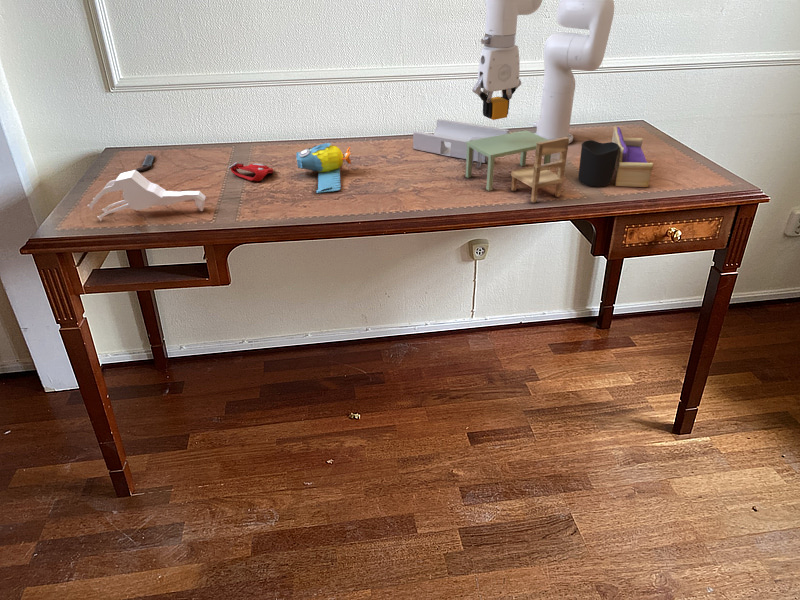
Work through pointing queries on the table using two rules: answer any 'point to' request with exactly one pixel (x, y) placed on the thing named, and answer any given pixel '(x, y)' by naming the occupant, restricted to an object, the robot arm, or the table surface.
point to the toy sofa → (631, 162)
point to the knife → (146, 163)
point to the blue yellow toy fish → (324, 165)
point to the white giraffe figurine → (144, 194)
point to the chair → (544, 168)
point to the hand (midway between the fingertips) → (495, 114)
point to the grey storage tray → (454, 139)
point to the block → (499, 108)
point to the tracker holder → (256, 168)
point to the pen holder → (597, 163)
